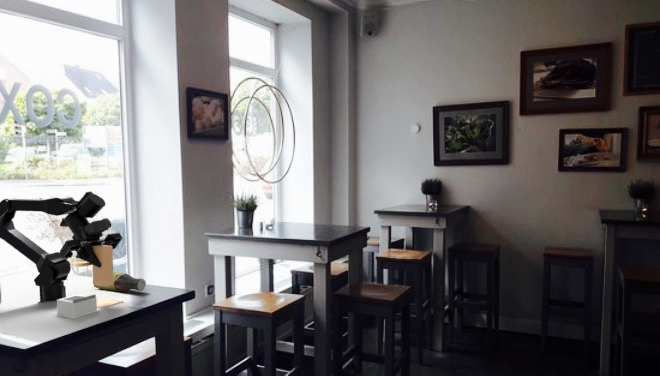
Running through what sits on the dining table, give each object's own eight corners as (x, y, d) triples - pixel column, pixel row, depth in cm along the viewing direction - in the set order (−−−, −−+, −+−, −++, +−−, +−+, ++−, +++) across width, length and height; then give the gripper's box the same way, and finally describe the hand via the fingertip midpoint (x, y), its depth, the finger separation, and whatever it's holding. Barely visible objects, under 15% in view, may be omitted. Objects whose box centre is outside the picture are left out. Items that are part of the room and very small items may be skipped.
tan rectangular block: (93, 284, 152) (91, 246, 152) (102, 282, 155) (101, 244, 155) (103, 286, 150) (102, 247, 149) (113, 284, 153) (112, 245, 152)
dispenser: (53, 317, 143) (52, 297, 143) (106, 301, 159) (106, 283, 159) (73, 321, 139) (72, 301, 139) (126, 304, 155) (125, 286, 154)
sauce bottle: (105, 270, 179) (150, 274, 172) (104, 287, 178) (149, 292, 172) (91, 271, 173) (136, 276, 166) (90, 289, 172) (135, 294, 166)
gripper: (64, 213, 145) (89, 253, 140) (117, 208, 161) (142, 243, 157) (48, 238, 149) (73, 278, 145) (102, 230, 166) (126, 266, 161)
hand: (105, 265), depth 152 cm, fingers closed on tan rectangular block, 3 cm apart
